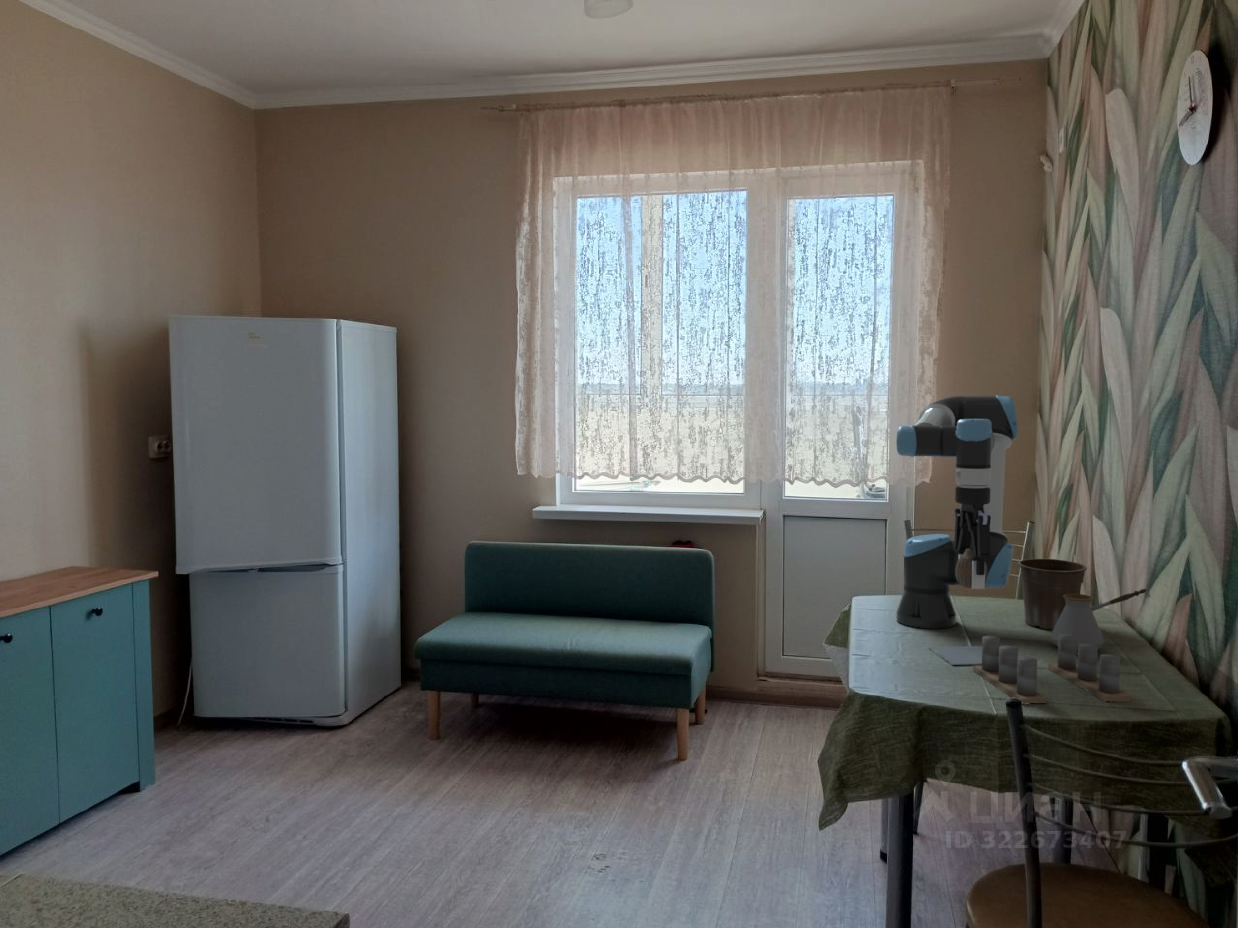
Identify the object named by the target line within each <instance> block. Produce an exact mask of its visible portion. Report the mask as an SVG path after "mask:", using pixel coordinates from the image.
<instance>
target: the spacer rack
mask: <svg viewBox="0 0 1238 928" xmlns="http://www.w3.org/2000/svg"><path fill="white" fill-rule="evenodd" d="M981 638H982V639H981V641H982V642H981V646H982V665H972V671H973V672H974V673H975V672H976V674H977V675H978V676H980V677H981V678H982V679H984V678H985V679H987V680H988V681H990V682H991V683H993V684H994V685H995V686H994V685H993V684H992V685H993V686H994V687H996V686H997V687H999V688H1000V689H1001V690H1003V691H1004V692H1006V693H1007V694H1008V695H1010V696H1009V697H1010V698H1011V697H1015V698H1012V699H1013V700H1014V699H1018V700H1021V701H1022V702H1023V704H1024V705H1026V704H1025V703H1046V704H1047V697H1046V696H1043V695H1042V694H1041V693H1040V692H1038V691H1037V687H1038V686H1037V679H1038V659H1037V658H1035V657H1031V656H1019V648H1018V647H1016V646H1012V645H1001V637H999V636H997V635H996V636H995V635H984V636H981ZM1076 650H1077V636H1075V635H1072V634H1059V635H1058V646H1057V663H1048V670H1049V671H1051V672H1053V673H1055V674H1056V673H1057V674H1056V675H1058V676H1060V677H1062V678H1063V679H1065V678H1067V679H1069V680H1070V681H1072V682H1074V683H1076V684H1078V685H1079V686H1081V687H1082V688H1084V689H1086V690H1088V691H1089V692H1091V693H1093V694H1094V695H1096V696H1097V697H1099V698H1100V699H1099V698H1098V699H1099V700H1101V699H1102V700H1101V701H1103V700H1104V701H1111V702H1110V703H1113V702H1112V701H1116V702H1115V703H1117V702H1120V703H1121V702H1126V703H1127V702H1130V701H1131V695H1130V694H1128V693H1126V692H1124V691H1122V690H1121V689H1120V680H1121V679H1120V678H1121V674H1120V673H1121V657H1120V656H1118V655H1115V654H1108V653H1107V654H1105V653H1104V654H1100V655H1099V671H1098V651H1099V649H1098V647H1097V646H1096V645H1093V644H1079V645H1078V654H1076ZM1098 672H1099V678H1098ZM985 679H984V680H985ZM1067 679H1066V680H1067ZM987 680H986V681H987ZM988 681H987V682H988ZM1070 681H1069V682H1070ZM990 682H989V683H990ZM1072 682H1071V683H1072ZM991 683H990V684H991ZM1079 686H1078V687H1079ZM997 687H996V688H997ZM1082 688H1081V689H1082ZM1000 689H999V690H1000ZM1084 689H1083V690H1084ZM1001 690H1000V691H1001ZM1003 691H1002V692H1003ZM1004 692H1003V693H1004ZM1089 692H1088V693H1089ZM1006 693H1005V694H1006ZM1091 693H1090V694H1091ZM1007 694H1006V695H1007ZM1008 695H1007V696H1008ZM1094 695H1093V696H1094ZM1096 696H1095V697H1096ZM1097 697H1096V698H1097ZM1104 701H1103V702H1104Z"/></svg>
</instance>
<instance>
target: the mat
mask: <svg viewBox="0 0 1238 928" xmlns="http://www.w3.org/2000/svg"><path fill="white" fill-rule="evenodd" d="M929 648H930V649H933V650H934V649H935V650H937V651H939V653H938V652H936V653H937V654H939V655H940V656H941V657H943V658H944V659H946V660H947V661H948V662H950V663H951V664H952V665H971V666H979V665H982V645H964V646H962V645H960V646H957V645H956V646H954V645H953V646H929V647H928V649H929ZM930 649H929V650H930ZM941 652H942V653H941ZM937 654H936V655H937ZM941 657H940V658H941ZM944 659H943V660H944ZM948 662H947V663H948ZM952 665H951V666H952Z"/></svg>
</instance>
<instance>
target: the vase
mask: <svg viewBox="0 0 1238 928" xmlns="http://www.w3.org/2000/svg"><path fill="white" fill-rule="evenodd" d="M971 558H974V553H973V548H968V549H966V550H965V552H964V554H963V555H962V556H961V557H960V558H959V560H958V561H957V564H956V568H955V575H956V579H957V581H958V583H959V584H960V585H961V587H962V588H966V589H972V560H971ZM986 578H987V566H986V563H985V581H986Z"/></svg>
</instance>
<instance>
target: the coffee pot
mask: <svg viewBox="0 0 1238 928" xmlns="http://www.w3.org/2000/svg"><path fill="white" fill-rule="evenodd" d="M1140 594H1145V595H1146V596H1147V598H1150V597H1151V595H1150V593H1149V591H1148V590H1147V589H1146V588H1143V589H1140V590H1135V591H1134V592H1132V593H1126V594H1122V595H1120V596H1117V597H1116V598H1114V599H1111V600H1109V601H1107V602H1103V603H1100V604H1097V605H1094V606H1091V602H1092V601H1093V600H1094V597H1093V596H1091V595H1086V594H1082V593H1080V594H1065V595H1063V598H1065V602H1066V605H1065V607H1064V609H1063V611H1062V613H1061V615H1060V617H1059V619H1058V621H1057V623H1056V625H1055V627H1054V629H1053V630H1051V633H1050V636H1049V637H1050V639H1051V642H1052V643H1053V644H1054V645H1055V646H1056V647H1058V635H1059V634H1072V635H1075V636H1077V650H1076V653H1078V645H1079V644H1093V645H1096V646H1097V647H1098V650H1099V649H1101V648H1102V647H1103V646H1104V643H1105V639H1104V635H1103V634H1102V632H1101V629H1100V627H1099V625H1098V622H1097V620H1096V617H1095V615H1094V611H1097V610H1099V609H1102V608H1104V607H1105V608H1106V607H1107V606H1110V605H1114V604H1118V603H1121V602H1123V601H1128V600H1130V599H1131V598H1134V597H1138V596H1139V595H1140Z"/></svg>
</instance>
